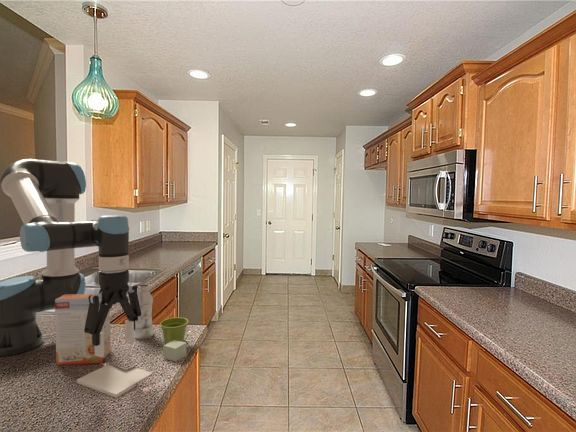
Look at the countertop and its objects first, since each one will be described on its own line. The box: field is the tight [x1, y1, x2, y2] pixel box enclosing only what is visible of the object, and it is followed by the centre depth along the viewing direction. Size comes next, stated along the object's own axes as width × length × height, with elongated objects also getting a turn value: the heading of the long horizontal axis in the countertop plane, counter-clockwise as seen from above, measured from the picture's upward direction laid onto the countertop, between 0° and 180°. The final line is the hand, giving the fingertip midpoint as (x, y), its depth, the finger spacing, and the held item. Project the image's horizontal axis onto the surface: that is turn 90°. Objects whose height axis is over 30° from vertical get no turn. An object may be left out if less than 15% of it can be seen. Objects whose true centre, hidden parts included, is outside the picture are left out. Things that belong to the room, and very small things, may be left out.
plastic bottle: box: [134, 284, 155, 340], centre depth 122 cm, size 6×7×20 cm
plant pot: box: [159, 316, 189, 345], centre depth 117 cm, size 9×9×9 cm
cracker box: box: [54, 293, 112, 366], centre depth 106 cm, size 14×6×21 cm, turn 96°
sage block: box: [162, 340, 187, 362], centre depth 108 cm, size 5×5×5 cm
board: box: [76, 363, 153, 398], centre depth 95 cm, size 16×12×1 cm
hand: (115, 348), depth 95 cm, fingers open, 9 cm apart
